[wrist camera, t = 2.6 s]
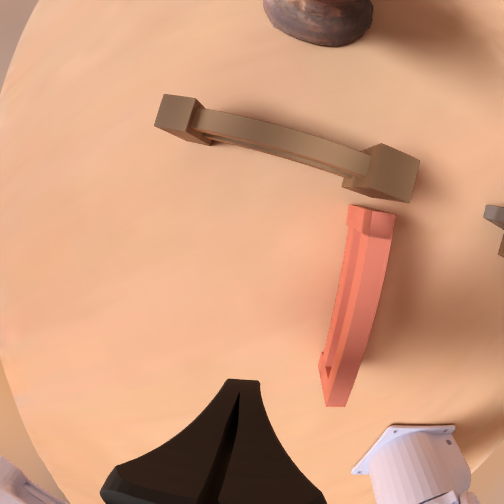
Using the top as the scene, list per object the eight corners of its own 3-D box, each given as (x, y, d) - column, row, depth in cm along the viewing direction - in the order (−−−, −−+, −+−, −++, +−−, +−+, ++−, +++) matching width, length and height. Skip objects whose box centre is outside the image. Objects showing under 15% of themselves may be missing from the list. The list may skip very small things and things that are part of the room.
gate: (349, 204, 16) (372, 210, 12) (367, 207, 16) (395, 214, 12) (318, 365, 19) (325, 406, 15) (334, 366, 19) (345, 406, 15)
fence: (552, 252, 15) (588, 266, 10) (543, 281, 16) (578, 299, 10) (199, 99, 16) (168, 67, 10) (185, 144, 16) (148, 128, 11)
